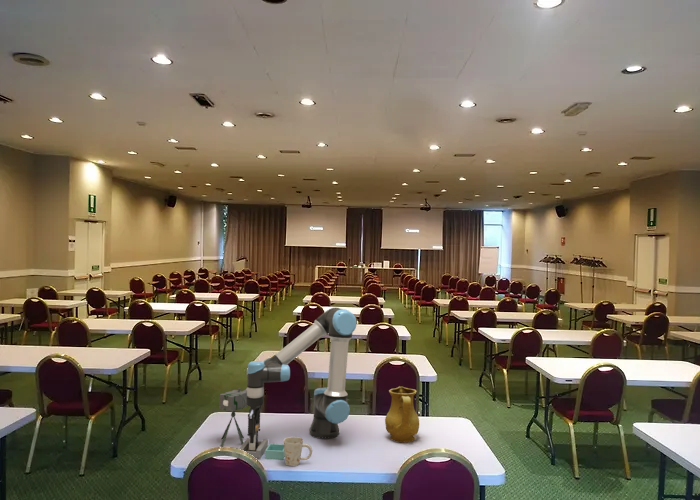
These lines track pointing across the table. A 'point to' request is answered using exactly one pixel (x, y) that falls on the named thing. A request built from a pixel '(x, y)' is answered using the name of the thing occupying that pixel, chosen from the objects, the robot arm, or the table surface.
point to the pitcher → (402, 416)
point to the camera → (233, 407)
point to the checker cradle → (260, 450)
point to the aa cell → (256, 437)
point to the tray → (275, 451)
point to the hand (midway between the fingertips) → (253, 447)
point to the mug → (294, 450)
